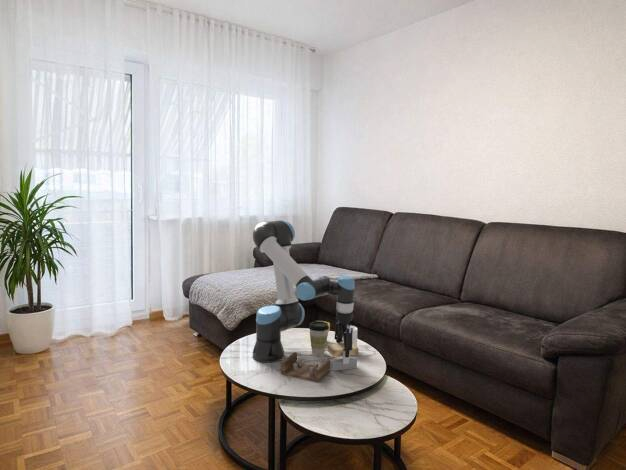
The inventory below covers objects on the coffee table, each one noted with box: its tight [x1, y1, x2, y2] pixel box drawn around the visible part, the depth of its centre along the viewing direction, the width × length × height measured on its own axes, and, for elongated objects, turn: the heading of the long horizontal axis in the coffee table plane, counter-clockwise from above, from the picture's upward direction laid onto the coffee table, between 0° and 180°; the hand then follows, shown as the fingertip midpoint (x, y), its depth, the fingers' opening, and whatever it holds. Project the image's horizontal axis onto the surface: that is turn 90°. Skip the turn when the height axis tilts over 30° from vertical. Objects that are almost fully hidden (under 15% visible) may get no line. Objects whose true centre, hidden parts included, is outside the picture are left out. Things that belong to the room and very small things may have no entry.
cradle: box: [280, 351, 331, 383], centre depth 186 cm, size 18×12×6 cm, turn 65°
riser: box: [330, 356, 358, 372], centre depth 191 cm, size 12×3×4 cm, turn 110°
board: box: [327, 343, 359, 358], centre depth 191 cm, size 12×7×3 cm, turn 110°
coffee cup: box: [308, 320, 329, 357], centre depth 207 cm, size 10×10×15 cm
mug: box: [342, 325, 358, 347], centre depth 209 cm, size 12×8×12 cm
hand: (342, 359), depth 191 cm, fingers closed on board, 7 cm apart
